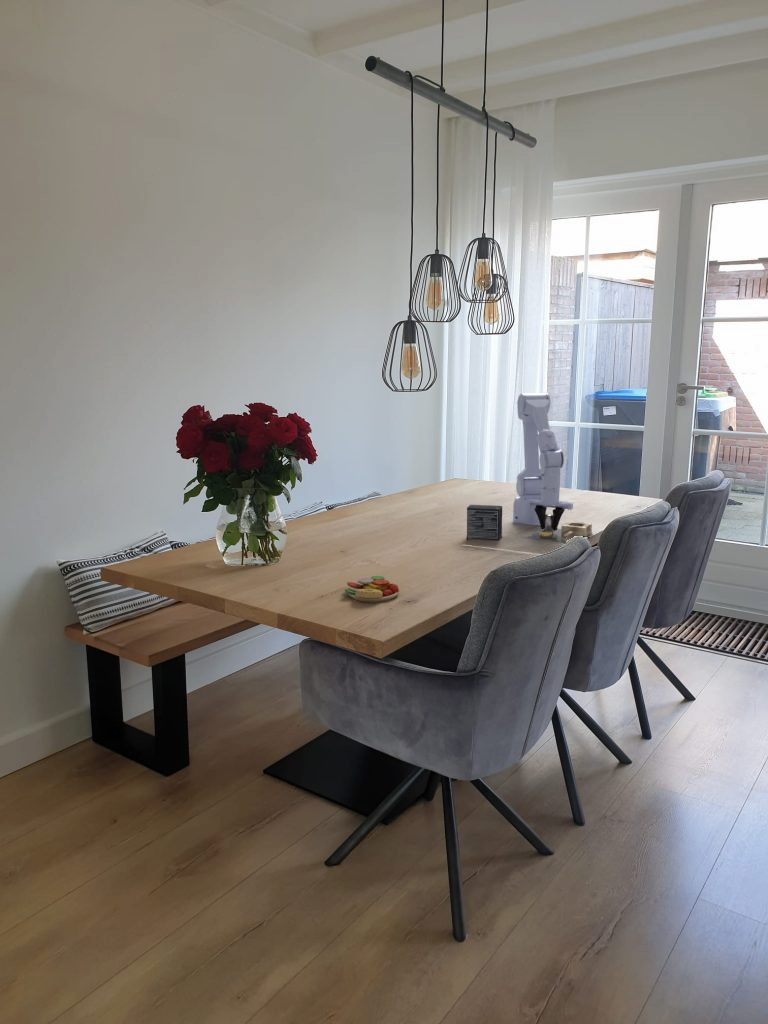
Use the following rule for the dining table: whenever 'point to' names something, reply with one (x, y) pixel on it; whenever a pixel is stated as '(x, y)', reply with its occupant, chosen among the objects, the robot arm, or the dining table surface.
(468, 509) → the small box
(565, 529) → the beech socket block
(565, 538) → the beech rail
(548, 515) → the steel pin
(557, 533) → the slate board
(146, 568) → the dining table surface
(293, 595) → the dining table surface
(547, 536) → the gold metal dome
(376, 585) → the toy food set
